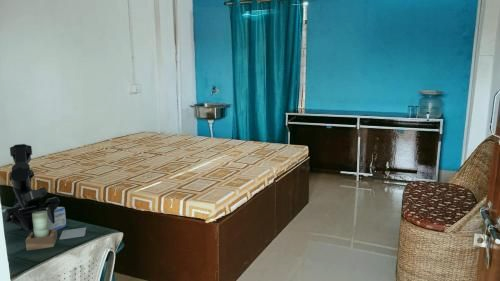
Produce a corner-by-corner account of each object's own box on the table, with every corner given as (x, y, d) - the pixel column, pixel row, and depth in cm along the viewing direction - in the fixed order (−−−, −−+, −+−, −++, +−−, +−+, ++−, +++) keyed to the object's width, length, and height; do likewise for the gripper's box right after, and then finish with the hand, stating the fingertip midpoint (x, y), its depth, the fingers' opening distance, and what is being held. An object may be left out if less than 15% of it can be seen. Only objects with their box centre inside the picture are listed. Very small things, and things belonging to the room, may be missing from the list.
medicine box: (53, 232, 152) (51, 212, 151) (44, 232, 153) (42, 212, 152) (66, 226, 160) (65, 206, 158) (57, 225, 160) (56, 206, 159)
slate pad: (63, 231, 152) (62, 230, 152) (86, 228, 155) (86, 227, 155) (59, 239, 144) (59, 238, 144) (84, 236, 147) (84, 234, 147)
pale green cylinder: (36, 242, 141) (33, 211, 140) (51, 240, 143) (48, 209, 141) (33, 247, 136) (30, 215, 135) (48, 245, 138) (45, 213, 137)
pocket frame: (32, 241, 142) (31, 232, 142) (57, 238, 145) (56, 228, 145) (26, 250, 134) (25, 240, 133) (53, 246, 137) (52, 236, 136)
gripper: (2, 187, 132) (19, 221, 127) (55, 177, 147) (72, 207, 142) (-4, 205, 137) (12, 239, 132) (47, 194, 152) (63, 224, 147)
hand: (41, 226), depth 138 cm, fingers open, 9 cm apart
